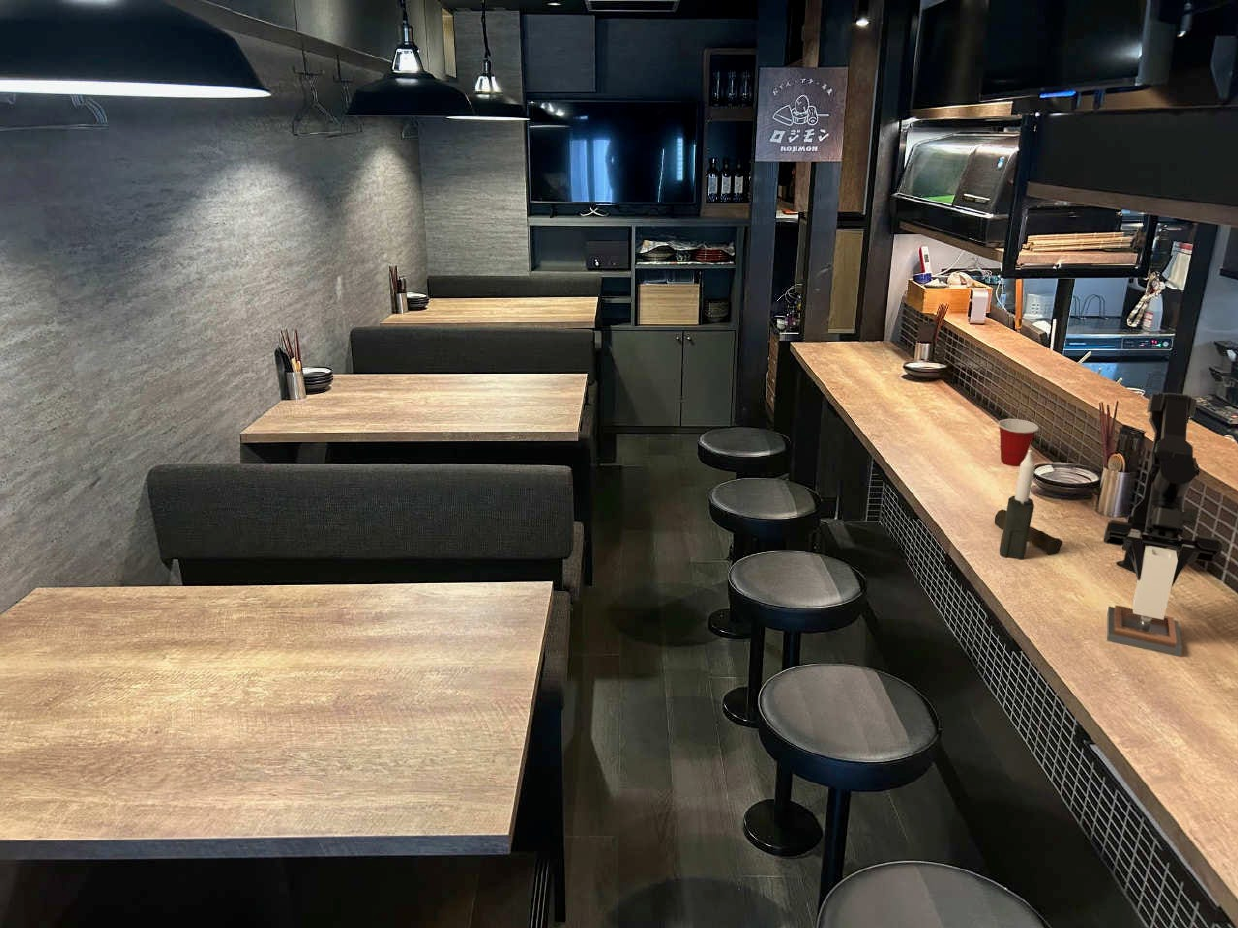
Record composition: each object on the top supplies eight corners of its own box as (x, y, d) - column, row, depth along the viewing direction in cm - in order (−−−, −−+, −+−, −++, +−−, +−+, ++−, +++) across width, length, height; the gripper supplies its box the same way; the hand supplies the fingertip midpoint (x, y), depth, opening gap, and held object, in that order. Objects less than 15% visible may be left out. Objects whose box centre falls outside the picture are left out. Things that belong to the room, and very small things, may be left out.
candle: (1023, 551, 211) (1042, 447, 202) (1024, 560, 206) (1044, 454, 198) (999, 547, 212) (1017, 444, 204) (1000, 556, 208) (1018, 451, 199)
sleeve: (1132, 602, 177) (1145, 545, 173) (1162, 608, 175) (1176, 550, 171) (1133, 613, 173) (1146, 555, 169) (1163, 619, 171) (1177, 561, 167)
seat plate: (1107, 613, 183) (1111, 592, 182) (1176, 627, 178) (1181, 607, 177) (1107, 640, 173) (1111, 619, 172) (1180, 656, 168) (1185, 634, 167)
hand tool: (1061, 554, 210) (1065, 535, 208) (1048, 556, 209) (1051, 537, 207) (1003, 523, 227) (1006, 505, 225) (990, 525, 226) (993, 507, 224)
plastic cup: (991, 466, 266) (998, 426, 262) (992, 455, 276) (998, 416, 272) (1032, 471, 263) (1039, 431, 259) (1031, 460, 272) (1038, 421, 268)
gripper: (1117, 480, 174) (1105, 555, 168) (1233, 498, 166) (1224, 578, 160) (1109, 505, 183) (1097, 577, 177) (1218, 523, 175) (1210, 599, 169)
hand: (1155, 582), depth 171 cm, fingers closed on sleeve, 5 cm apart
